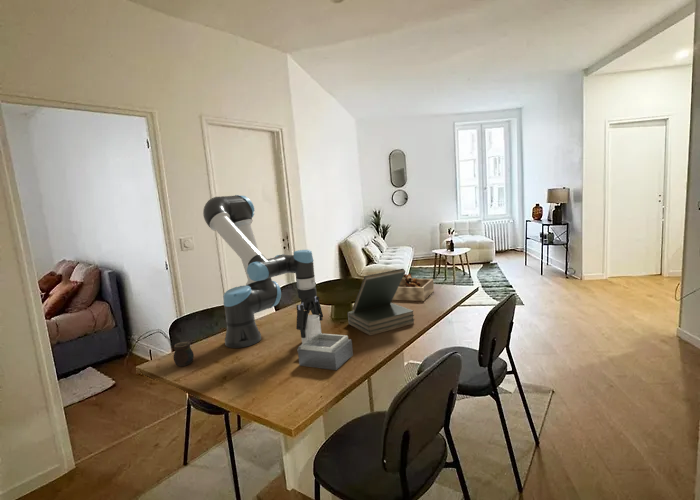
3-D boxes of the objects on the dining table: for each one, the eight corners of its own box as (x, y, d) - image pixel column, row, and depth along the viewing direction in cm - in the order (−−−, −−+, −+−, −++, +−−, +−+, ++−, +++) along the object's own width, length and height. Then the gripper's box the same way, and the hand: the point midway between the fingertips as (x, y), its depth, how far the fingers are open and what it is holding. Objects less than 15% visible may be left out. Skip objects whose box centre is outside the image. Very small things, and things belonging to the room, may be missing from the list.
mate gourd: (179, 360, 155) (176, 336, 154) (198, 359, 155) (195, 335, 154) (170, 368, 148) (167, 343, 147) (190, 367, 148) (187, 341, 146)
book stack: (390, 314, 191) (386, 263, 188) (414, 324, 174) (410, 268, 170) (348, 325, 181) (343, 271, 178) (369, 336, 164) (364, 277, 160)
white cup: (318, 344, 159) (316, 320, 158) (300, 344, 161) (297, 320, 160) (323, 337, 167) (321, 314, 166) (306, 337, 169) (303, 314, 167)
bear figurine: (406, 299, 214) (404, 277, 212) (398, 293, 228) (397, 273, 227) (430, 296, 216) (429, 274, 214) (421, 290, 231) (419, 270, 229)
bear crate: (386, 299, 217) (385, 287, 216) (399, 289, 236) (398, 278, 235) (423, 300, 208) (423, 287, 207) (433, 290, 226) (433, 278, 225)
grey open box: (290, 364, 142) (287, 344, 141) (309, 350, 154) (307, 331, 153) (336, 370, 134) (334, 349, 133) (353, 355, 145) (351, 335, 144)
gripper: (299, 295, 149) (305, 351, 152) (327, 281, 169) (332, 331, 172) (283, 294, 153) (289, 349, 156) (313, 281, 173) (318, 330, 176)
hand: (312, 340), depth 164 cm, fingers open, 10 cm apart
